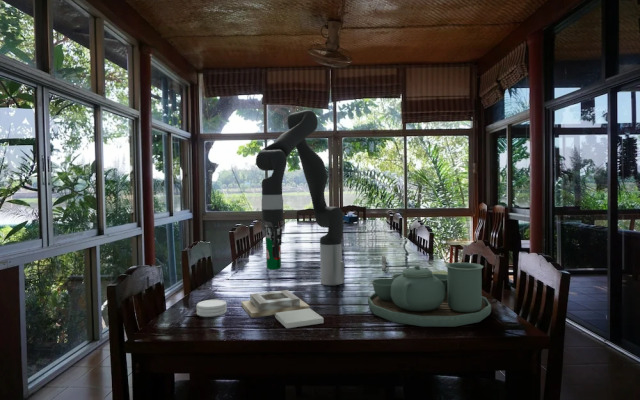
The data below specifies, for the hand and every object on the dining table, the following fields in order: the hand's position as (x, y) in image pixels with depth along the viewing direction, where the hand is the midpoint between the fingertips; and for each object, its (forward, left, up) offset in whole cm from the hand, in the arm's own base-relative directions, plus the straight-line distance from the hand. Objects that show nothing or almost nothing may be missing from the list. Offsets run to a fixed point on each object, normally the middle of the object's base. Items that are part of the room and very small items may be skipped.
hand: (273, 256), depth 153 cm
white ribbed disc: (+21, -4, -19) cm, 28 cm away
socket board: (0, 0, -18) cm, 18 cm away
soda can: (0, 0, -5) cm, 5 cm away
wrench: (-72, -49, -18) cm, 89 cm away
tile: (-3, +17, -18) cm, 25 cm away
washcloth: (-75, -12, -19) cm, 78 cm away
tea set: (-46, +24, -19) cm, 55 cm away
